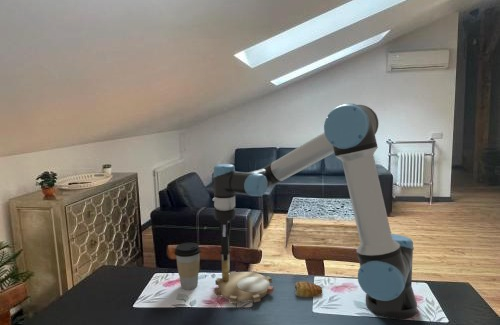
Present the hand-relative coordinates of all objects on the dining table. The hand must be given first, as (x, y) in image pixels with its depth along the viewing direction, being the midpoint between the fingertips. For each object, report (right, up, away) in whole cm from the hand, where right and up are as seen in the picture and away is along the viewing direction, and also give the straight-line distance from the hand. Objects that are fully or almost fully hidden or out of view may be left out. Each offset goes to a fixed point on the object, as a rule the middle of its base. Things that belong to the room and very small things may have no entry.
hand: (225, 269), depth 128 cm
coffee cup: (-13, -6, -1) cm, 15 cm away
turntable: (+7, -5, -5) cm, 10 cm away
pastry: (+28, -6, -7) cm, 30 cm away
